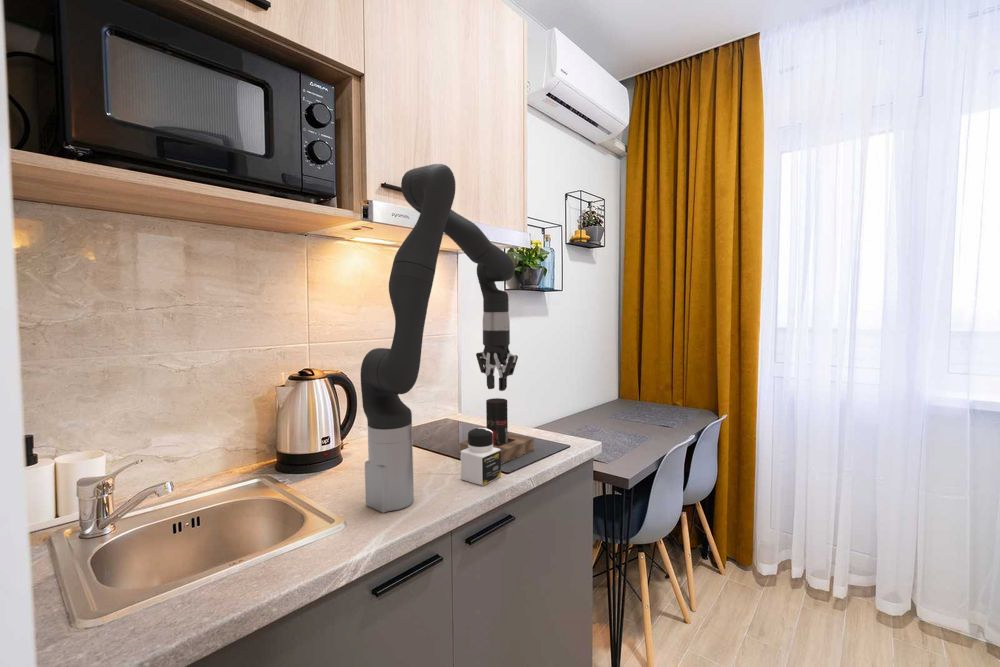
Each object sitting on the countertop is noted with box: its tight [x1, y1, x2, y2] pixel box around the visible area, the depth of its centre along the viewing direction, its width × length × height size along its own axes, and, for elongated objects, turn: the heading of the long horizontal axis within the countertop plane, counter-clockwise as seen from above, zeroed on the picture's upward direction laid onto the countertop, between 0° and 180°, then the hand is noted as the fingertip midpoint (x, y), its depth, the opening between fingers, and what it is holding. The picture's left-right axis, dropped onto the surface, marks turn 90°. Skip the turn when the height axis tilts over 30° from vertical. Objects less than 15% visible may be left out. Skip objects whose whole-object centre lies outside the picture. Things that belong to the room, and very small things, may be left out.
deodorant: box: [485, 397, 509, 446], centre depth 133 cm, size 6×6×15 cm
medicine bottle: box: [460, 427, 502, 486], centre depth 114 cm, size 7×7×12 cm
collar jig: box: [459, 432, 535, 463], centre depth 133 cm, size 16×14×4 cm
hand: (496, 389), depth 132 cm, fingers open, 3 cm apart
